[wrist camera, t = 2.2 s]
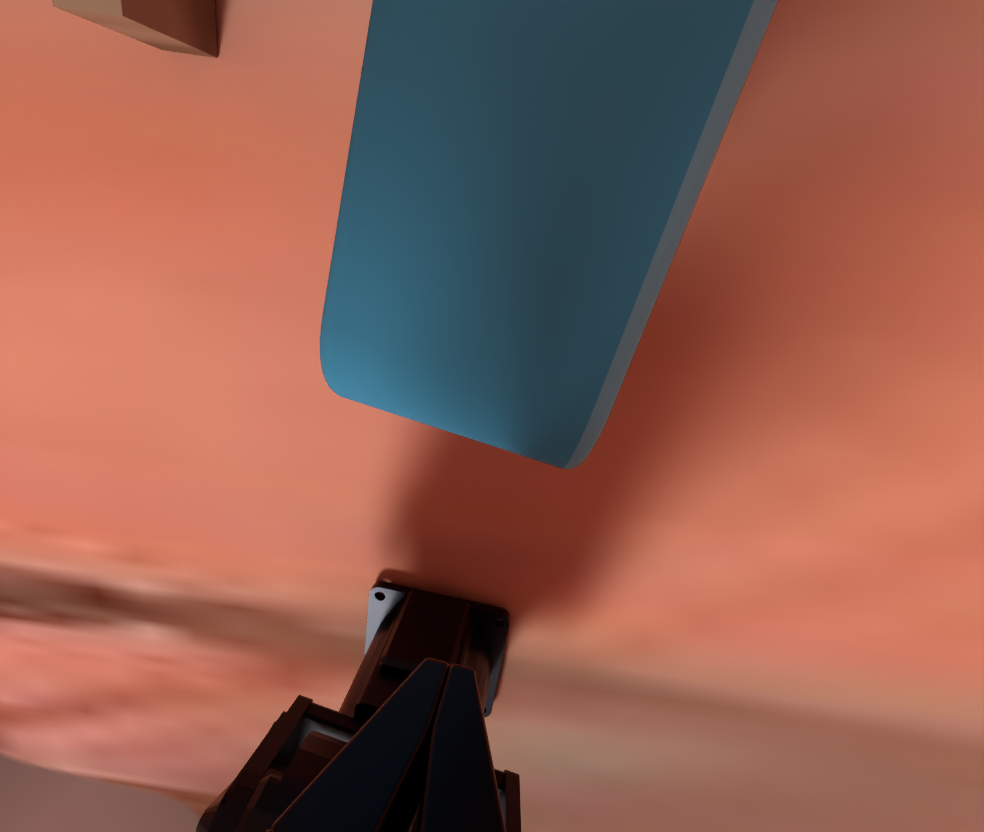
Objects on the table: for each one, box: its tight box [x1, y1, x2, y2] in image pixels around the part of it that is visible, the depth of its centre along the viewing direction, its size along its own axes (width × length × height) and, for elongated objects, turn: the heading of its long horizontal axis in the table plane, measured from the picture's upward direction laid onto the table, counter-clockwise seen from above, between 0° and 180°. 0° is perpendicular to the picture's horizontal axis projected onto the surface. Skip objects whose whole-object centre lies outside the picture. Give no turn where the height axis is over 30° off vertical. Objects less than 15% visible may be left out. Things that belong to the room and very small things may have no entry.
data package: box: [320, 0, 778, 469], centre depth 11 cm, size 12×4×12 cm, turn 164°
